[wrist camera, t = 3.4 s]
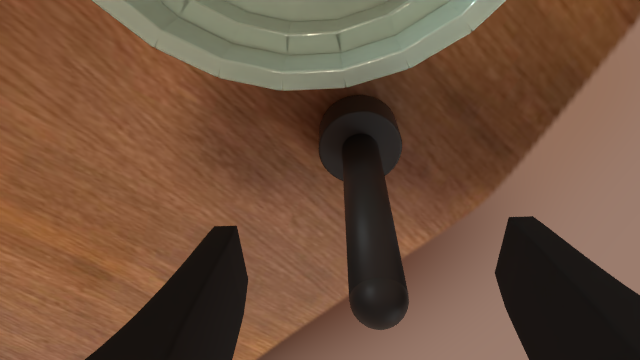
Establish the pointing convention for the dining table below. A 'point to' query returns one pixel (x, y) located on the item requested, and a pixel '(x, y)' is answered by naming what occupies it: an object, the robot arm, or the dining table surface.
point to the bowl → (301, 36)
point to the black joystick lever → (367, 205)
